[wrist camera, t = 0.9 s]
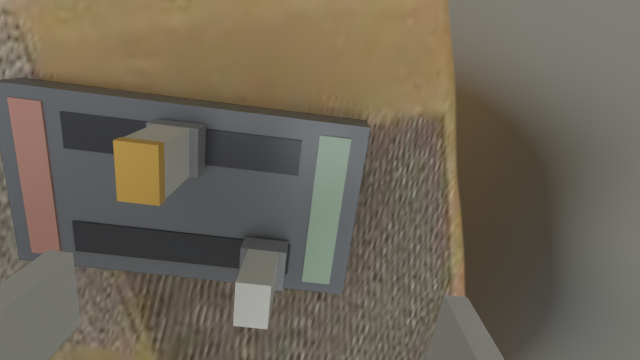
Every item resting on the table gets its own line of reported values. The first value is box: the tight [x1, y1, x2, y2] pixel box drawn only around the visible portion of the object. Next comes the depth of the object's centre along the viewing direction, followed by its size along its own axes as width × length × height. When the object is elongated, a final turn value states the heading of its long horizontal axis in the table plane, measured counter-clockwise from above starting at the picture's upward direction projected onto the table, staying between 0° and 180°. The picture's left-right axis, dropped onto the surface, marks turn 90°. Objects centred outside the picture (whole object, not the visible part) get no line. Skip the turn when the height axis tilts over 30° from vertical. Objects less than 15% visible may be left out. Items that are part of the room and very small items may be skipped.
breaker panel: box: [0, 78, 370, 329], centre depth 28 cm, size 28×15×10 cm, turn 83°
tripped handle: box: [113, 119, 206, 206], centre depth 24 cm, size 4×4×7 cm
